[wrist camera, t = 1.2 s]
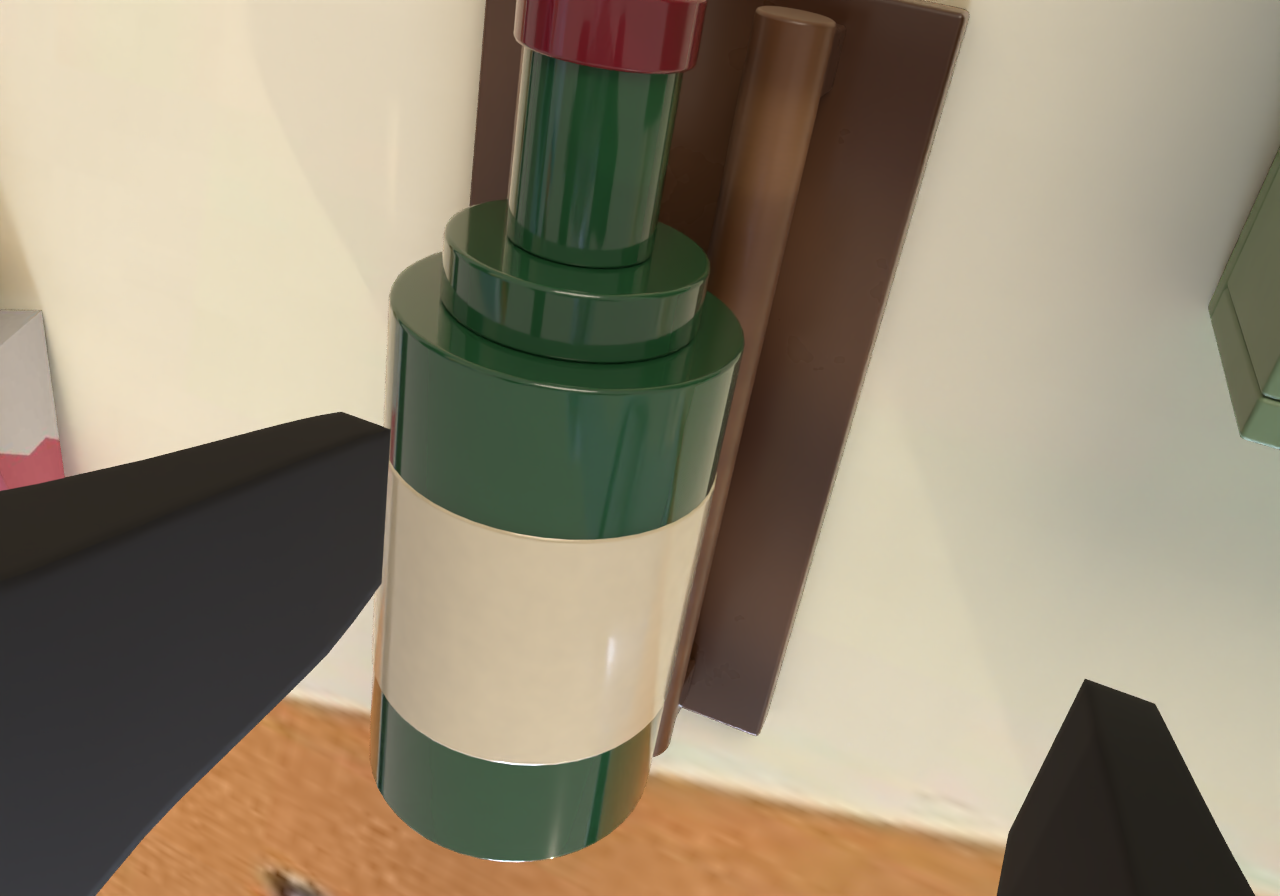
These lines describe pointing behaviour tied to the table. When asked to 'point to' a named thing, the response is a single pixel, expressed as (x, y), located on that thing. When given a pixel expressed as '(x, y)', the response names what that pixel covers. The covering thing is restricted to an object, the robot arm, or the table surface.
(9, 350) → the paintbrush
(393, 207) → the table surface
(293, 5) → the table surface
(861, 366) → the rack
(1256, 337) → the basket
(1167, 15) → the table surface
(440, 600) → the bottle
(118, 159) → the table surface
